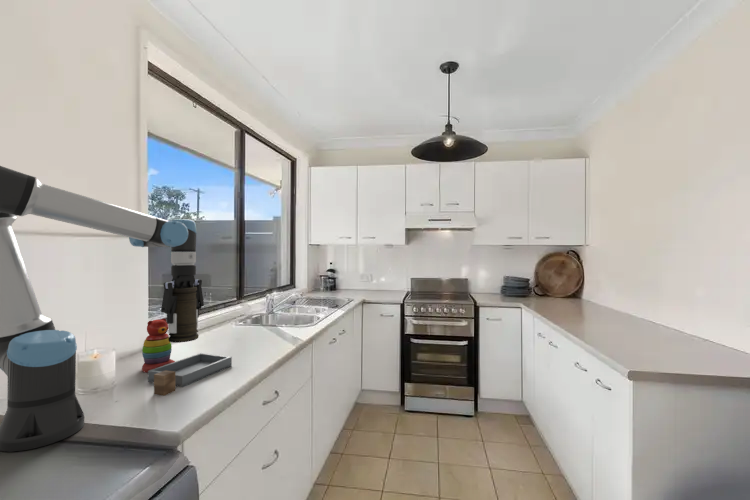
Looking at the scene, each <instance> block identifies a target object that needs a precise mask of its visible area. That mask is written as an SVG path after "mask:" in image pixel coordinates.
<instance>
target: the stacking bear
mask: <svg viewBox="0 0 750 500" xmlns="http://www.w3.org/2000/svg"><path fill="white" fill-rule="evenodd" d="M146 332H147V334H148V336H147V337H145V339H144V341H143V344H142V349H141V351H142V352H141V353H142V357H143V362H144V363H143V364H142V367H141V371H142V372H143V373H147V374H148V371H149V370H152V369H155V368H158V367H161V366H164V365H167V364H170V363H173V362H176V361H175V360H173V359H171V354H172V347H173V346H172V342H169V340H168V338H169V337H170V335H169V333H168V323H167V318H162V319H154V320H149V321H147V326H146ZM167 333H168V334H167Z"/></svg>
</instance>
